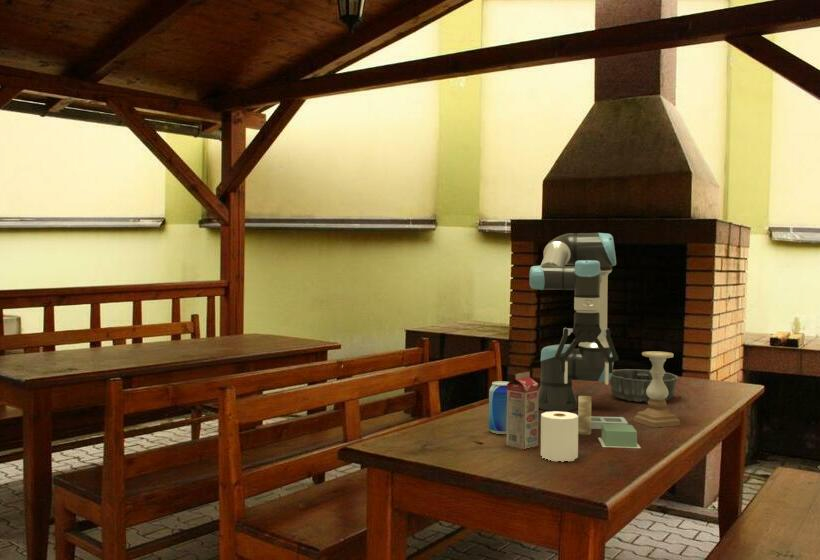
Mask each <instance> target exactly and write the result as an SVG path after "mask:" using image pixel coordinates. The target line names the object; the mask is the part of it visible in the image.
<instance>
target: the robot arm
mask: <svg viewBox="0 0 820 560" xmlns="http://www.w3.org/2000/svg"><path fill="white" fill-rule="evenodd" d="M615 248H616V247H615V241H614V236H613V235H612V234H610V233H608V232H607V233H606V232H605V233H604V232H590V233H589V232H587V233H586V232H585V233H584V232H579V233H573V232H572V233H571V232H570V233H569V232H568V233H565V234H562V235H559V236H557V237H555V238H553V239H552V240H550V241H548V243H547V244H546V245H545V247H544V249H543V259H542V261H541V263H540V265H533V266H531V267H530V270H529V287H530V288H531V289H532V290H540V291H543V290H548V291H549V290H551V291H552V290H558V291H559V290H562V291H574V296H573V297H574V298H573V300H574V301H573V302H574V303H573V308H574V309H573V310H574V313H573V327H572V328H567V327H564V328H563V330H562V336H561V340H560V342H559V344H552V345H547V346H544V347H543V348H542V349H541V351H540V360H539V361H540V384H539V385H540V386H539V398H538V409H539V408H540V410H543V411H548V412H553V411H559V412H570V411H575V410H578V401H577V399H576V395H575V391H574V389H573V381H583V382H584V381H585V382H589V381H590V382H597V383H599V382H604V384H605V385H606V386H608V385H609V382H610V379H611V377H612V371H614V365H615V364H614V362H616V361H619V360H620V359H619V355H618V352H617V351H616V348H615V345H614V342H613V339H612V337H611V329H610V328H608V289H609V288H608V287H609V286H608V283H609V282H608V279H609V277H608V276H609V274H610V273H612V271H613V267H615V266H616V265H617V256H616V250H615ZM572 333H573V335H574V336H575V337H574V339H573V340H572V342H571V343H567V344H566V342H567V340H568V337H569V336H570V335H571V334H572ZM577 346H578V348H576V347H577Z"/></svg>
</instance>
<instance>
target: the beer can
mask: <svg viewBox="0 0 820 560" xmlns="http://www.w3.org/2000/svg"><path fill="white" fill-rule="evenodd" d="M509 382H510V381H505V380H504V381H501V380H498V381H497V380H496V381H492V383H491V386H490V387H489V389H488V429H489V431H490V433H491V432H493V433H496V434H507V384H508V383H509ZM493 433H492V434H493ZM496 434H495V435H496Z"/></svg>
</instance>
